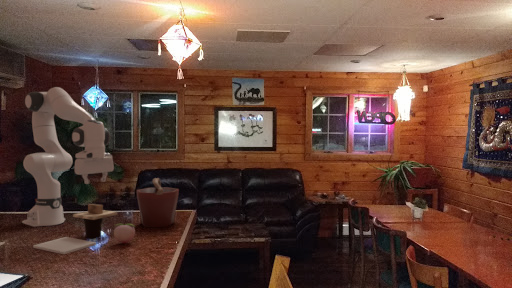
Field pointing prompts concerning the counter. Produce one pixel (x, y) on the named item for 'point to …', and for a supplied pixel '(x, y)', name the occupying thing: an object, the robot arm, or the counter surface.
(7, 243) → the counter surface
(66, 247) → the rubber mat
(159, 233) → the counter surface
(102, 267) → the counter surface
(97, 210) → the birch lid
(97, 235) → the coffee mug
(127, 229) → the decorative fruit
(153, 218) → the bucket
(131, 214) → the counter surface
